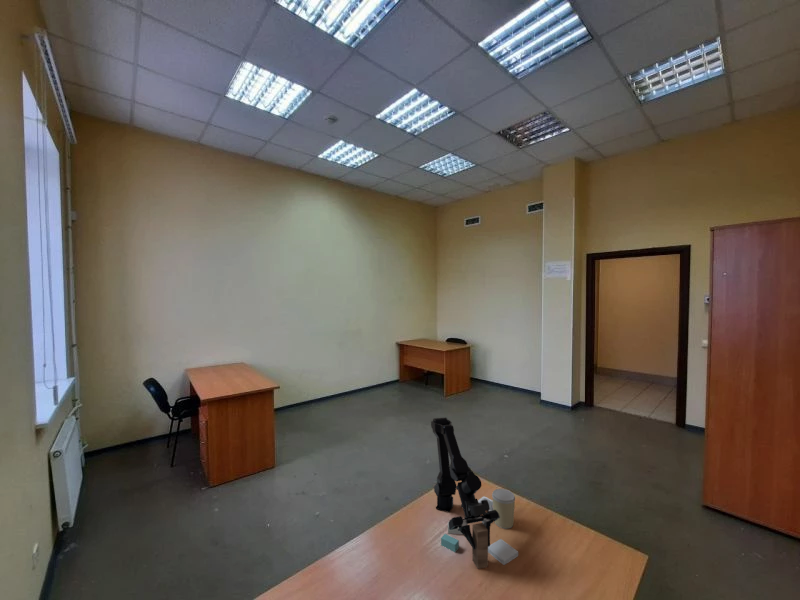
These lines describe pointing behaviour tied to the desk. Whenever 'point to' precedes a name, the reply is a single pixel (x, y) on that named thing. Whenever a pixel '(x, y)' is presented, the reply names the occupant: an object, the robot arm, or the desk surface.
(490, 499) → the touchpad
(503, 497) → the coffee cup
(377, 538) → the desk surface
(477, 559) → the walnut block
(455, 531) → the light grey brick
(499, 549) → the grey slab
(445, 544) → the teal brick
